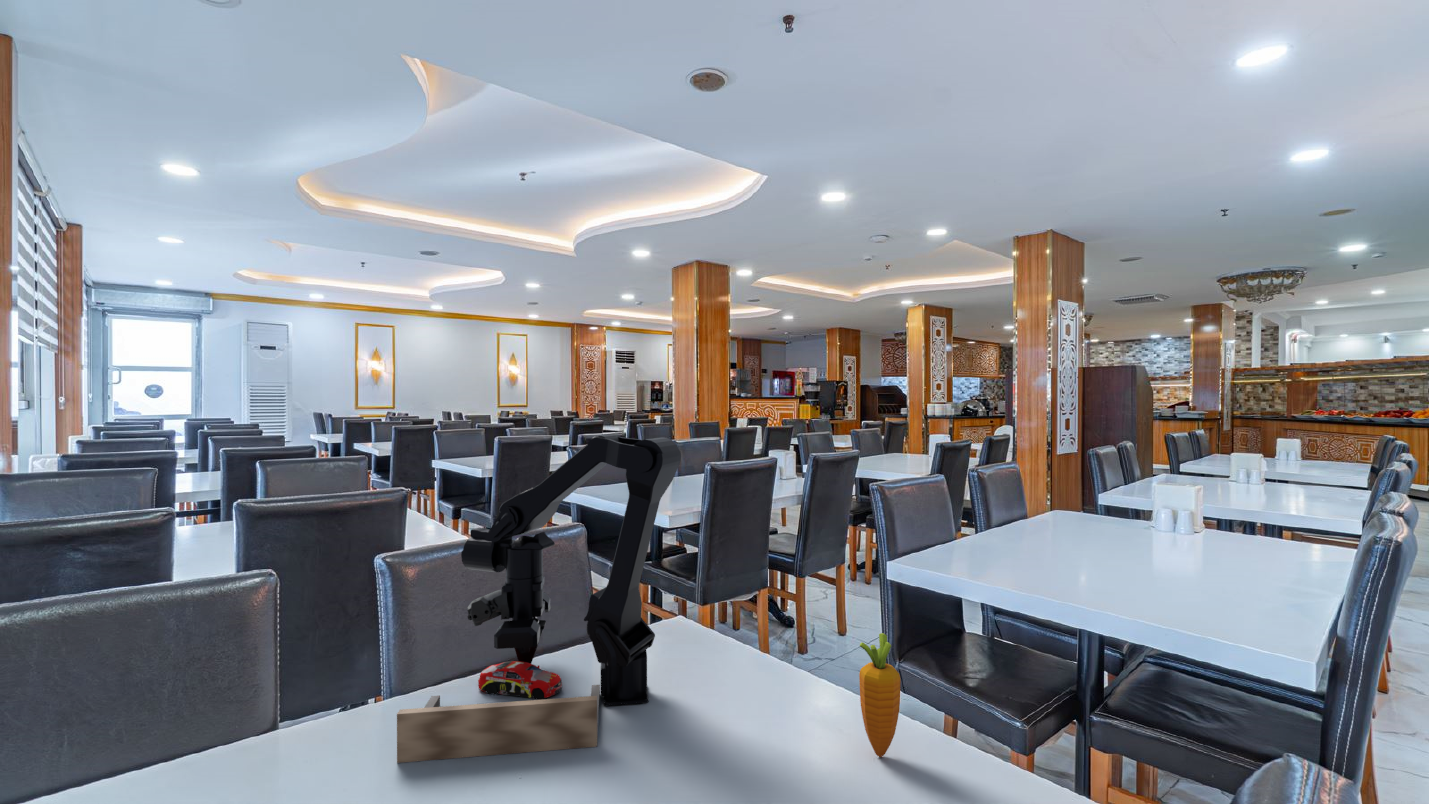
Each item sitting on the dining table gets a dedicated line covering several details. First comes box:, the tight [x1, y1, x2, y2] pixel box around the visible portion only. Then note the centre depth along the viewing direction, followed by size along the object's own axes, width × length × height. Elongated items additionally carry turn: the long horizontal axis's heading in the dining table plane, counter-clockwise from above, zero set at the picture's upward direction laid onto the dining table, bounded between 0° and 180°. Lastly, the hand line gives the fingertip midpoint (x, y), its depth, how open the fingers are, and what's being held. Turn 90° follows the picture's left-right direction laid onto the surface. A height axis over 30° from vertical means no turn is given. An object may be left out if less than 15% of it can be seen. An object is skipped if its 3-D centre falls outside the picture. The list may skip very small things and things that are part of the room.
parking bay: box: [396, 684, 601, 764], centre depth 89 cm, size 24×15×6 cm, turn 99°
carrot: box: [858, 632, 901, 758], centre depth 81 cm, size 5×5×15 cm
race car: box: [477, 660, 563, 700], centre depth 100 cm, size 13×5×4 cm, turn 75°
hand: (525, 671), depth 104 cm, fingers closed
